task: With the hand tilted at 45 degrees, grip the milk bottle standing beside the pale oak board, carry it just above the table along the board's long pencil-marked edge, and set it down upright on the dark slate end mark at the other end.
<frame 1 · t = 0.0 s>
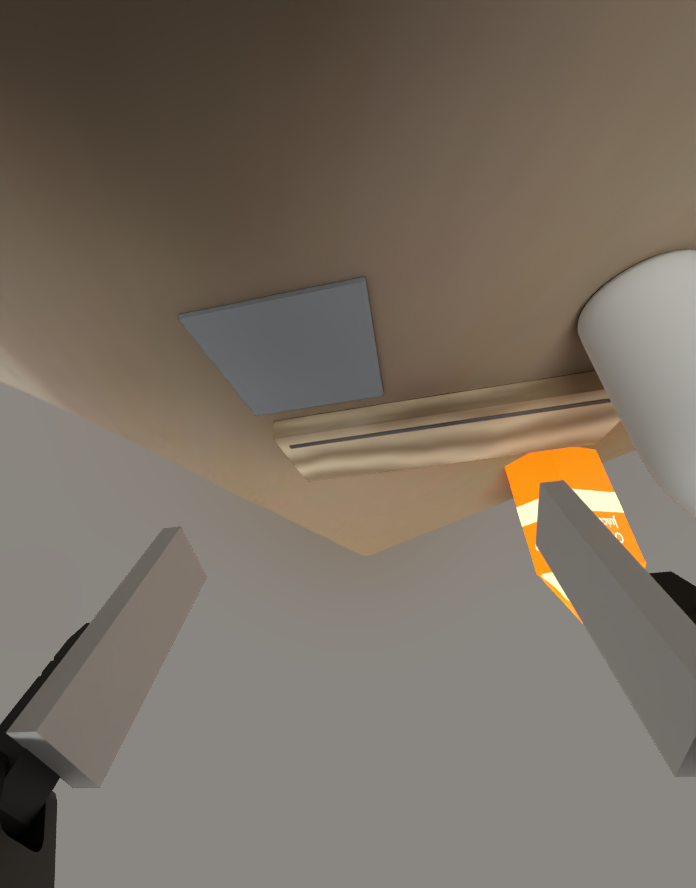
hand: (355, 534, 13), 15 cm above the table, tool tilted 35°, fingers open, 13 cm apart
oak board: (444, 425, 38), on the table
milk bottle: (636, 296, 24), on the table
orange juice: (548, 457, 48), on the table
end mark: (298, 359, 27), on the table
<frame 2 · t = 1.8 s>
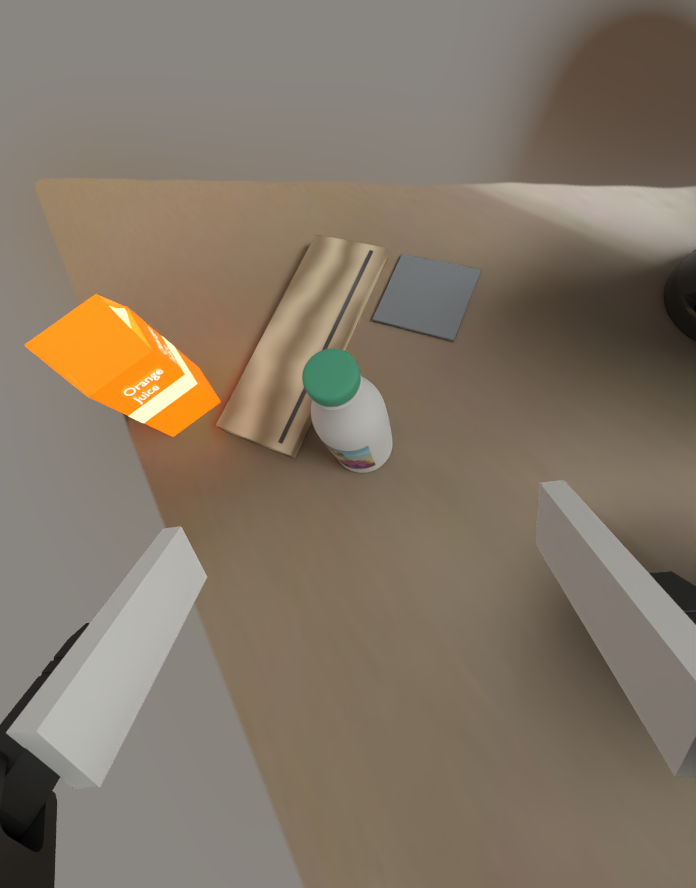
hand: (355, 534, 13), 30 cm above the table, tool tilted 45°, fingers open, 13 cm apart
oak board: (308, 341, 52), on the table
milk bottle: (363, 445, 46), on the table
orange juice: (187, 402, 53), on the table
end mark: (426, 296, 51), on the table
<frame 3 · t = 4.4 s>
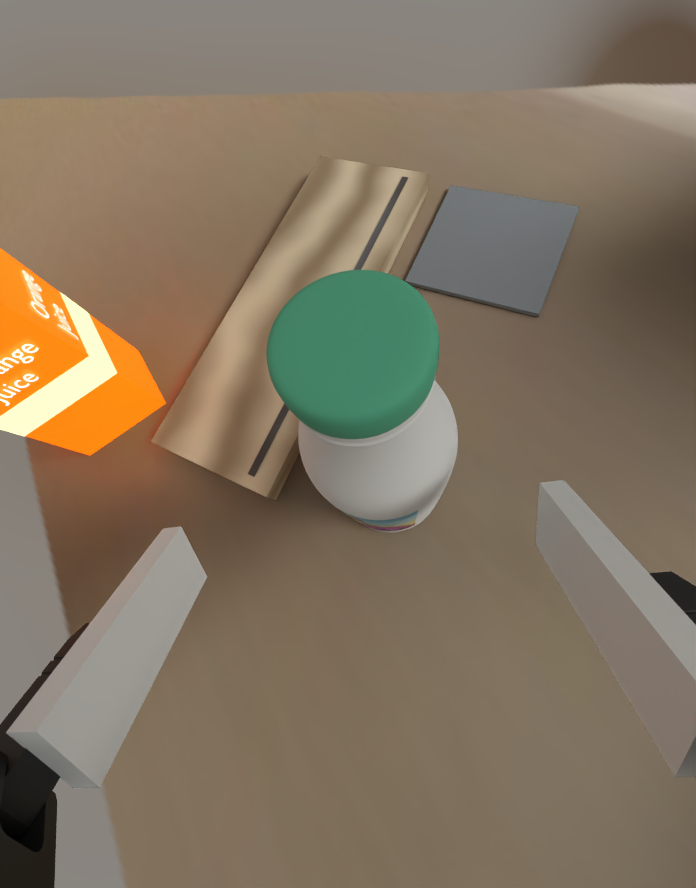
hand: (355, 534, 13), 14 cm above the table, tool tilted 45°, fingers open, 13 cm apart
oak board: (303, 314, 34), on the table
milk bottle: (389, 483, 28), on the table
orange juice: (116, 402, 35), on the table
end mark: (490, 247, 32), on the table
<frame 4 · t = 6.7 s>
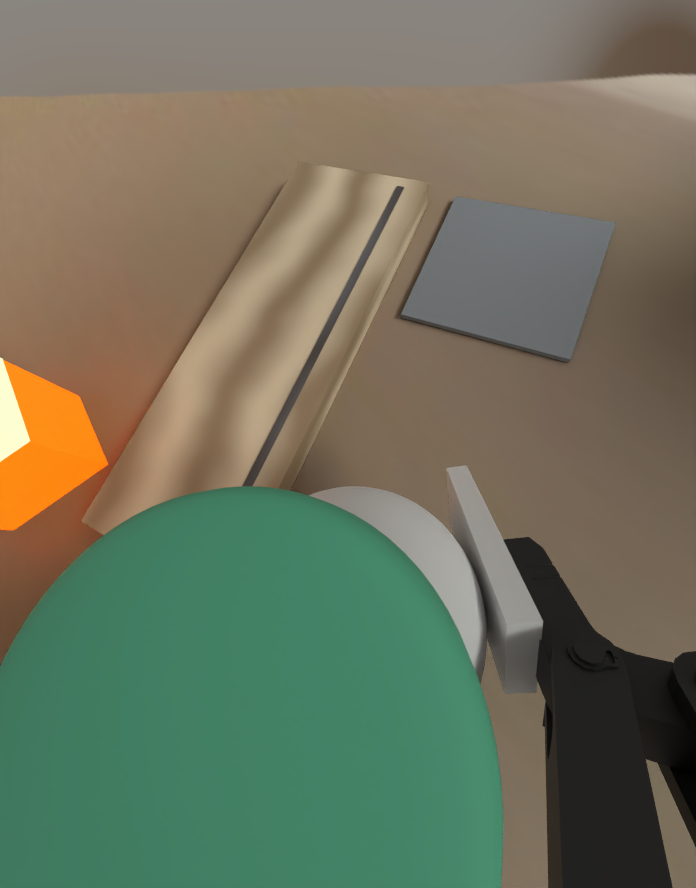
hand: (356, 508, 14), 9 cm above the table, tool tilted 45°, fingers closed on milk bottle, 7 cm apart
oak board: (277, 353, 28), on the table
milk bottle: (382, 581, 22), on the table, touching gripper
orange juice: (50, 460, 28), on the table
end mark: (505, 273, 26), on the table
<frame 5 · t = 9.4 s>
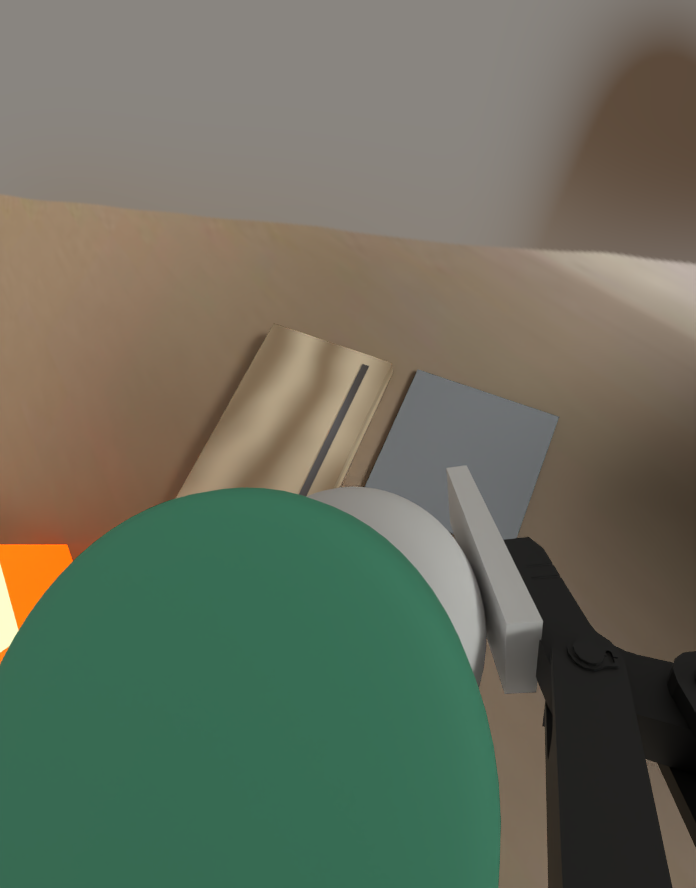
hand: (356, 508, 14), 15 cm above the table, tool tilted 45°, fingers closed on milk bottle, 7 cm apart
oak board: (249, 519, 30), on the table
milk bottle: (382, 581, 22), point 6 cm above the table, touching gripper
orange juice: (40, 609, 31), on the table
end mark: (458, 456, 29), on the table
when the fingers open (10 cm above the table, at t = 12.1 s): milk bottle drops 1 cm, resting on end mark.
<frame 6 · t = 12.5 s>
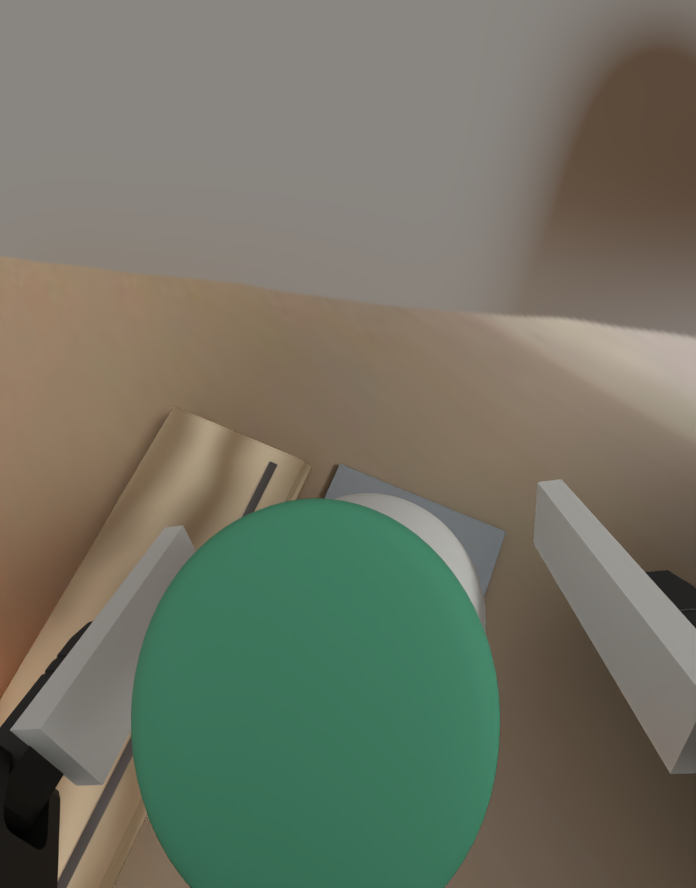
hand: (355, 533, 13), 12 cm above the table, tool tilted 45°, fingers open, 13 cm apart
oak board: (133, 654, 24), on the table
milk bottle: (386, 581, 23), resting on end mark
end mark: (384, 579, 23), on the table
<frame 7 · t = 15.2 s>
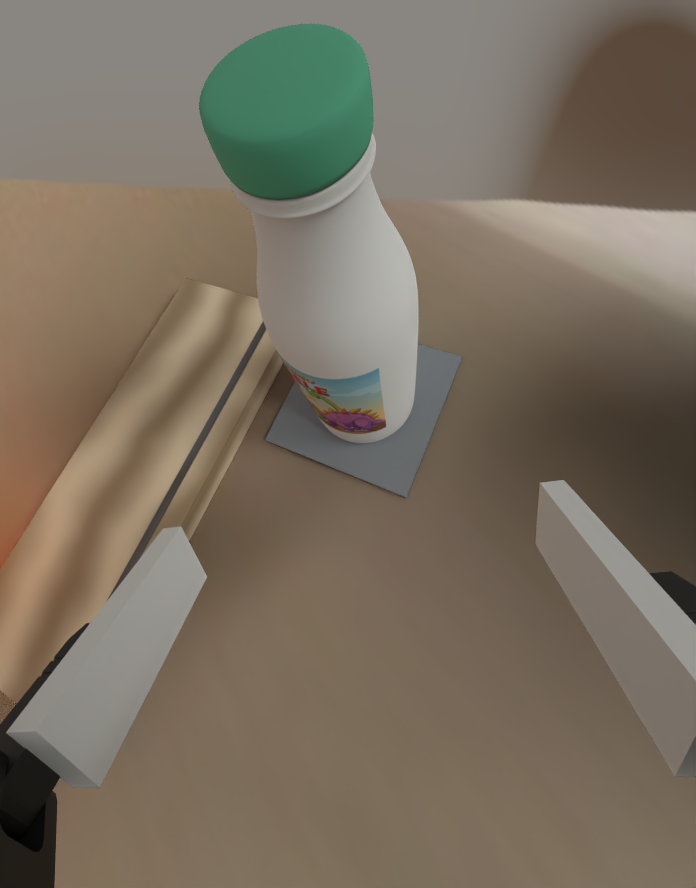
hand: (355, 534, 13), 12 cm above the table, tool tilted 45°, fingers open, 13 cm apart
oak board: (153, 471, 29), on the table
milk bottle: (365, 400, 28), resting on end mark
end mark: (363, 400, 28), on the table
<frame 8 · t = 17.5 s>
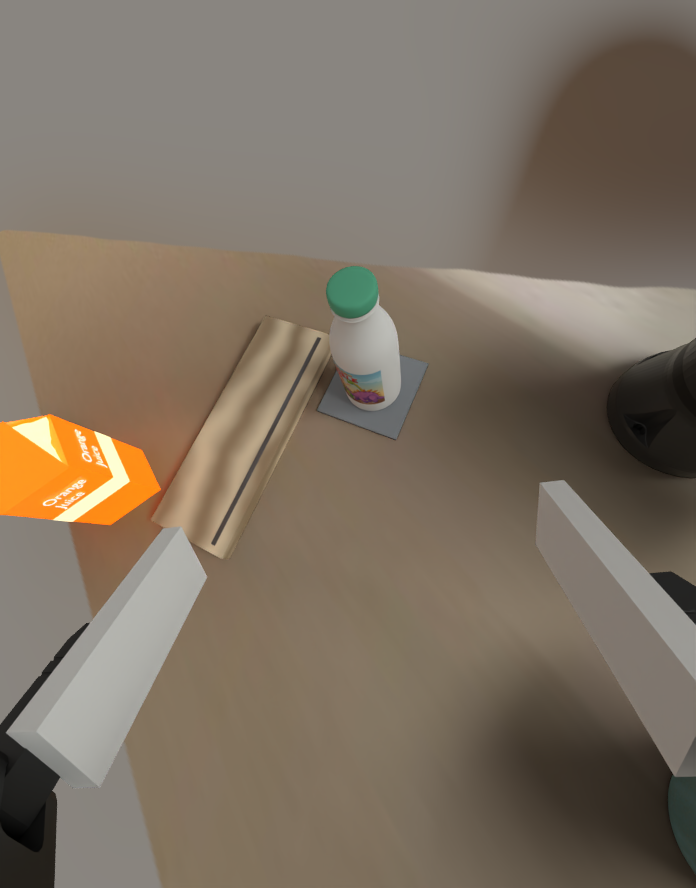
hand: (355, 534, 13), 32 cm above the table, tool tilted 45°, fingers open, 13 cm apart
oak board: (252, 429, 51), on the table
milk bottle: (373, 387, 49), resting on end mark
orange juice: (127, 486, 52), on the table
end mark: (372, 388, 50), on the table
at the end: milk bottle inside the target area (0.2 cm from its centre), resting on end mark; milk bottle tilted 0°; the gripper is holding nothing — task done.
